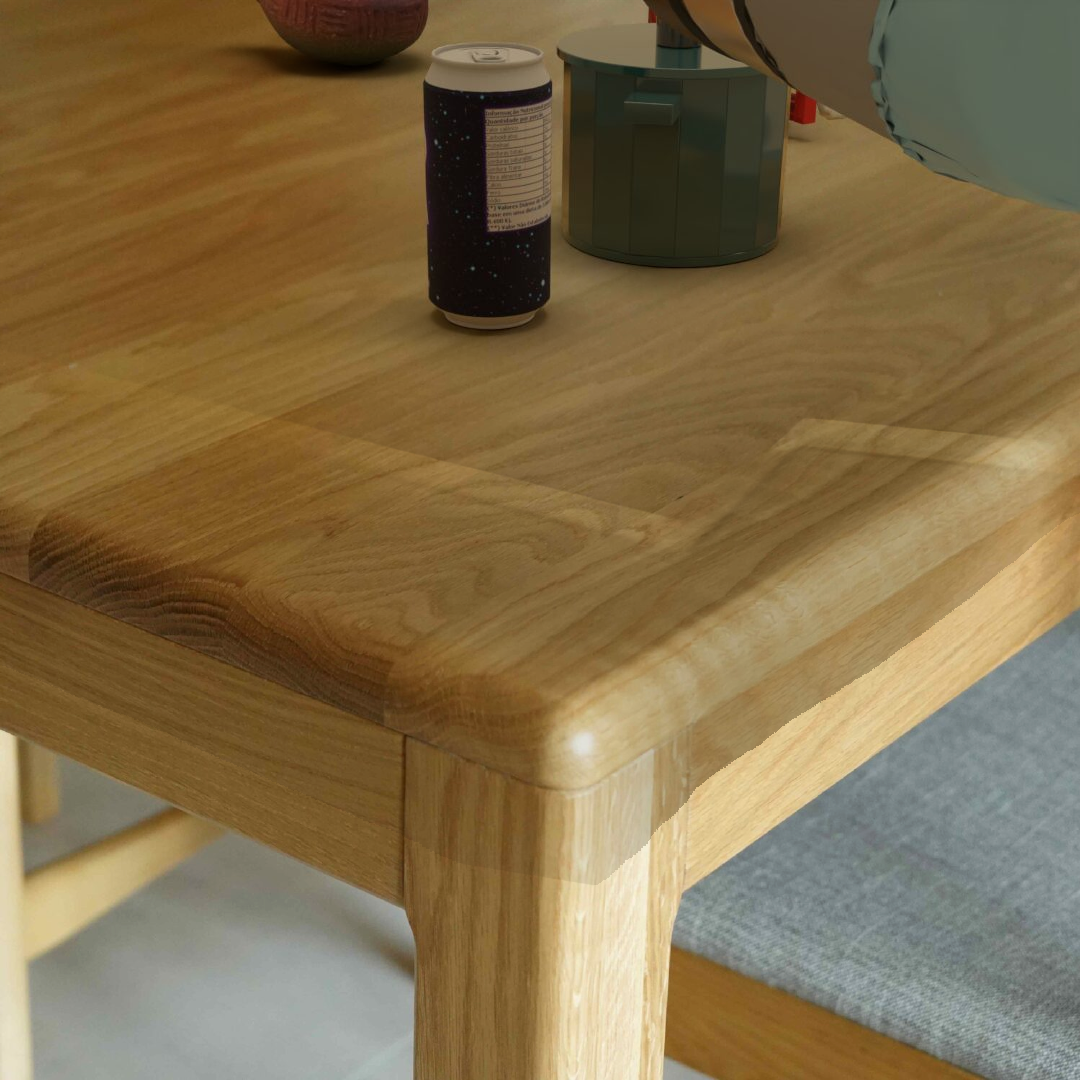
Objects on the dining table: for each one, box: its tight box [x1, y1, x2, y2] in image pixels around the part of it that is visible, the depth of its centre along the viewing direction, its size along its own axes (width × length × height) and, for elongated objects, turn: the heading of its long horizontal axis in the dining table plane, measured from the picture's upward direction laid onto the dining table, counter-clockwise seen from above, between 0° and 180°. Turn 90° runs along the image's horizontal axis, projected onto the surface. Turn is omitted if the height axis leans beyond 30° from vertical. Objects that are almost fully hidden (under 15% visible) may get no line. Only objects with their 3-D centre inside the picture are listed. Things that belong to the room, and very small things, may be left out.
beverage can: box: [422, 41, 553, 330], centre depth 74 cm, size 6×6×12 cm
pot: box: [561, 61, 792, 268], centre depth 87 cm, size 12×17×10 cm
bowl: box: [255, 0, 429, 67], centre depth 128 cm, size 16×13×8 cm
